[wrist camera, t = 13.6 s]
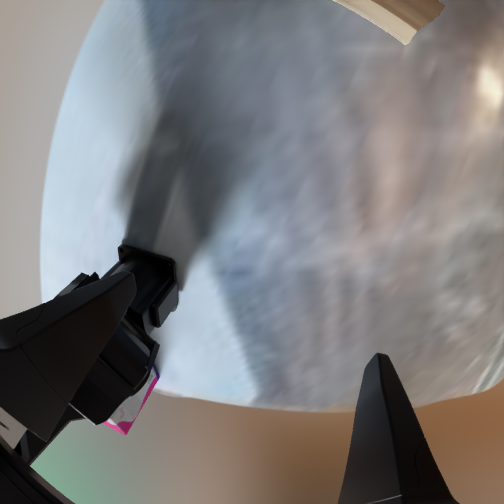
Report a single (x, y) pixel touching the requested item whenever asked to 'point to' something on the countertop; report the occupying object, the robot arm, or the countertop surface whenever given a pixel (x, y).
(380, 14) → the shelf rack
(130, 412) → the supplement box
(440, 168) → the countertop surface
